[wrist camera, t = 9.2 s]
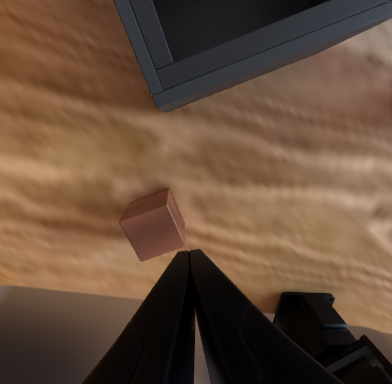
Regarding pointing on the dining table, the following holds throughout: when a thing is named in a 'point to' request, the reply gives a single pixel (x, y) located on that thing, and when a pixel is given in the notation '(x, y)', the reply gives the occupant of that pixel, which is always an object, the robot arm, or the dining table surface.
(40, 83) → the dining table surface
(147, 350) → the robot arm
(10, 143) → the dining table surface
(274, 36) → the basket
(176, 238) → the block
